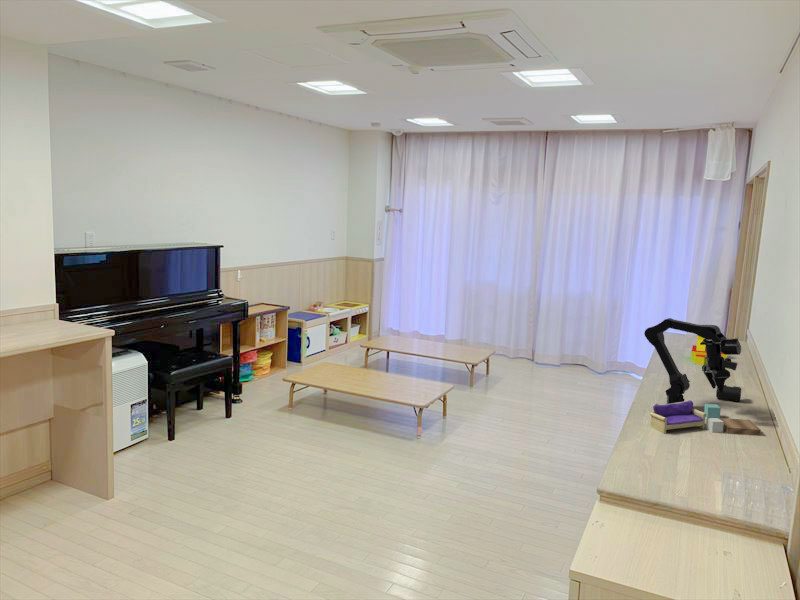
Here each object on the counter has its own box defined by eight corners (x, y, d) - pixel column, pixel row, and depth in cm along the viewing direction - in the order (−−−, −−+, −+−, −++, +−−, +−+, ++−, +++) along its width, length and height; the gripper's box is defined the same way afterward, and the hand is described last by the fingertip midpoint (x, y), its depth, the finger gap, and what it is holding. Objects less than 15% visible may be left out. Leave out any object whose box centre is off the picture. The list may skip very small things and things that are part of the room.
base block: (727, 434, 245) (727, 427, 245) (718, 424, 257) (718, 417, 256) (759, 436, 243) (760, 429, 242) (749, 426, 254) (749, 419, 254)
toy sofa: (663, 434, 245) (664, 409, 243) (648, 427, 253) (650, 403, 252) (706, 429, 250) (707, 405, 249) (690, 422, 259) (692, 399, 257)
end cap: (715, 400, 290) (716, 386, 289) (717, 396, 295) (718, 383, 294) (739, 403, 284) (740, 389, 283) (741, 400, 290) (742, 386, 289)
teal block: (707, 418, 264) (708, 407, 263) (703, 414, 268) (704, 403, 268) (719, 419, 263) (720, 408, 262) (716, 415, 267) (717, 404, 267)
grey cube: (712, 432, 246) (712, 421, 246) (705, 428, 251) (706, 418, 250) (722, 432, 247) (723, 421, 246) (716, 428, 251) (717, 418, 251)
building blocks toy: (690, 364, 360) (692, 333, 358) (692, 355, 382) (694, 326, 380) (726, 367, 351) (729, 336, 349) (726, 358, 373) (728, 329, 371)
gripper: (741, 355, 253) (745, 393, 253) (726, 350, 271) (730, 384, 271) (713, 358, 255) (716, 395, 255) (699, 352, 273) (703, 386, 274)
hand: (717, 390), depth 264 cm, fingers open, 9 cm apart
